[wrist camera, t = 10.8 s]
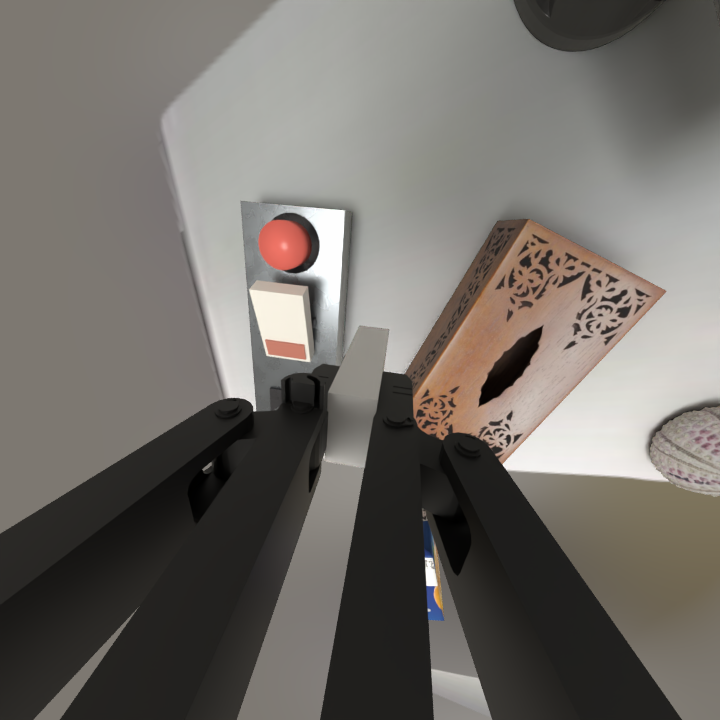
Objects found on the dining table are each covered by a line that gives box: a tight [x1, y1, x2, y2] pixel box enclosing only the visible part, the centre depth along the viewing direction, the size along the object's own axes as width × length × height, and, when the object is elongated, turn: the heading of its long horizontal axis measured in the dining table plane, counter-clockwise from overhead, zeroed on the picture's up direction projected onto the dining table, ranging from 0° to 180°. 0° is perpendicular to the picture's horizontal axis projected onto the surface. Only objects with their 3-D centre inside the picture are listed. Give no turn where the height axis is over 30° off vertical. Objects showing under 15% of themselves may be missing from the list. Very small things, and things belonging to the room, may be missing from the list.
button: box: [258, 220, 312, 270], centre depth 32 cm, size 5×5×3 cm
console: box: [241, 201, 352, 411], centre depth 41 cm, size 32×12×6 cm, turn 175°
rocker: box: [249, 280, 315, 362], centre depth 35 cm, size 10×6×2 cm, turn 174°
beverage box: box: [422, 508, 444, 621], centre depth 40 cm, size 7×11×22 cm, turn 12°
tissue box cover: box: [404, 219, 666, 464], centre depth 36 cm, size 26×14×10 cm, turn 155°
